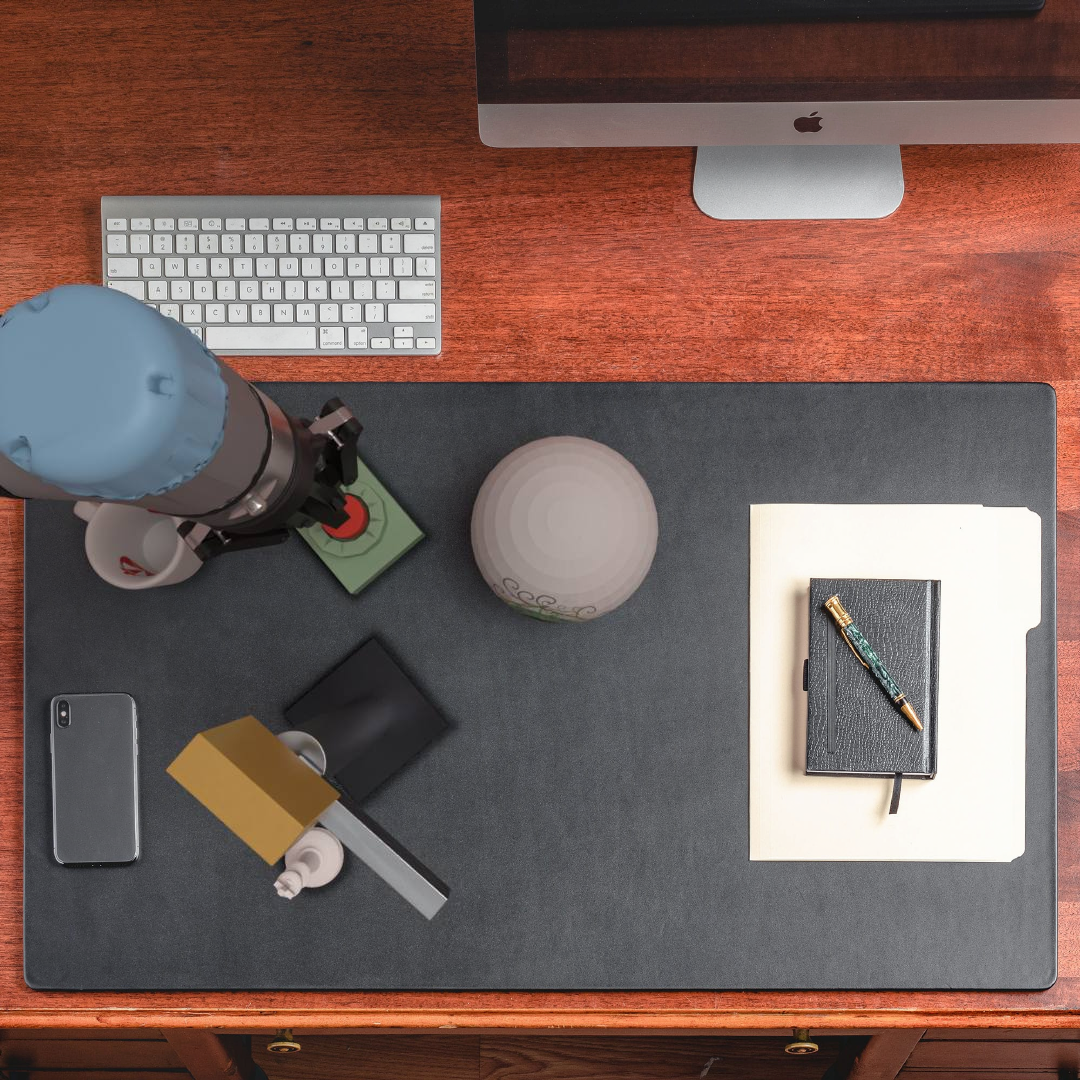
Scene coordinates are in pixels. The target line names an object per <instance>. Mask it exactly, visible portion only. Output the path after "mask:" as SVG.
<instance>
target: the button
mask: <svg viewBox="0 0 1080 1080" xmlns="http://www.w3.org/2000/svg"><path fill="white" fill-rule="evenodd" d="M345 500H346V501H347V502H348V503H347V505H346V506H345V507H344V510H345V511H346V512H347V513H348V514H349V515H350V517H351V518H350V519H349V520H348V521H346V522H345V523H344V524H343V525H342V526H340V527H339V528H338V529H337V530H336V529H334V528H332V527H329V526H327V525H325V524H322V523H321V524H322V526H323V528H324V529H325V530H326V531H327V532H328V533H329V534H331V535H333V536H335V537H338V538H341V539H350V538H354V537H356V536H358V535H359V534H360V533H361V532H362V531H363V530H364V528H365V526H366V523H367V512H366V509H365V507H364V506H363V504H362V503H361V502H360V501H358V500H357V499H355V498H354V497H352V496H350V495H346V498H345Z"/></svg>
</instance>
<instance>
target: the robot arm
mask: <svg viewBox="0 0 1080 1080" xmlns="http://www.w3.org/2000/svg"><path fill="white" fill-rule="evenodd" d="M363 430H364V426H363V424H362V423H361V422H360V421H359V420H358V419H357V418H356V416H355V415H354V414H353V412H352V411H350V410H349V408H348V407H347V406H346V405H345V403H344V402H343V401H342V400H341V399H340V397H338V396H335V397H332V398H330V399H328V400H327V401H326V402H325V404H324V405H323V406H322V408H321V412H320V414H319V415H316V416H315V417H314V418H313V421H312V420H311V419H310V418H307V417H297V418H295V417H293V416H292V415H291V414H290V413H289V412H287V411H286V410H284V409H283V408H282V407H281V406H279V405H278V404H277V403H276V402H274V400H272V399H271V398H270V396H268V395H266V393H264V392H263V391H261V390H260V389H259V388H258V387H256V386H255V385H253V384H252V383H251V382H249V381H248V380H247V379H245V378H244V377H243V376H242V375H240V374H239V373H238V372H237V371H235V370H234V369H233V367H231V366H229V365H228V364H227V362H225V361H224V360H223V359H221V358H220V357H219V356H218V355H216V354H215V353H214V352H213V351H212V350H211V349H210V348H208V347H207V345H206V344H205V342H204V341H202V339H201V338H200V337H199V336H198V335H197V334H196V333H194V332H192V330H191V329H190V328H189V327H188V326H186V325H183V324H182V323H180V322H179V321H178V320H177V319H175V317H172V316H167V315H165V314H163V313H162V312H161V311H160V310H159V309H157V308H156V307H153V306H151V305H148V304H147V303H145V302H144V301H142V300H140V299H138V298H137V297H135V296H133V295H131V294H129V293H126V292H123V291H121V290H119V289H115V288H112V287H110V286H105V285H97V284H89V283H69V284H62V285H60V284H59V285H57V286H55V287H52V288H51V289H48V290H45V291H43V292H41V293H38V294H37V295H35V296H33V297H31V298H28V299H25V300H21V301H19V302H17V303H15V305H13V306H12V307H11V308H9V309H7V310H6V311H5V312H4V313H3V314H0V498H1V499H2V498H4V499H11V500H34V499H37V500H52V501H53V500H54V501H69V502H70V501H73V502H78V501H86V502H97V503H101V504H102V503H113V504H122V505H129V506H135V507H140V508H145V509H150V510H154V511H158V512H161V513H164V514H167V515H171V516H174V517H178V518H182V519H186V520H187V521H184V522H182V523H181V524H180V525H179V527H178V528H177V530H176V531H177V532H178V534H179V535H180V536H181V537H182V538H183V540H184V541H185V542H186V543H187V544H188V546H189V547H190V548H191V549H192V551H193V552H194V553H195V554H196V555H197V557H198V558H199V559H200V560H201V561H202V562H203V563H204V562H207V561H209V560H210V561H211V560H212V559H214V558H217V557H219V556H221V555H224V554H228V553H232V552H241V551H247V550H253V549H259V548H265V547H273V546H278V545H280V544H285V542H286V541H288V540H289V539H288V538H290V536H291V532H290V531H289V530H290V529H292V528H295V527H296V528H298V529H302V528H303V527H305V528H310V527H312V526H313V525H314V524H315V523H317V522H320V523H322V524H325V525H327V526H329V527H332V528H334V529H336V530H337V529H338V528H339V527H340V526H342V525H343V524H344V523H345V522H346V521H348V520H349V519H350V518H351V517H350V515H349V514H348V513H347V512H346V511H345V510H344V507H345V506H346V505H347V503H348V502H347V501H346V500H345V498H346V494H345V493H344V491H343V490H342V489H341V488H340V486H341V485H342V484H343V485H344V486H345V487H347V486H349V485H352V484H354V483H355V482H356V480H357V478H358V463H357V456H358V448H357V442H358V440H359V438H360V436H361V434H362V432H363ZM320 458H321V459H322V462H323V463H324V464H325V466H324V467H322V468H323V469H322V468H321V469H322V470H321V469H320V467H318V466H317V464H318V462H319V460H320ZM296 528H295V529H296Z"/></svg>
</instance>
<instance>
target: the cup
mask: <svg viewBox="0 0 1080 1080" xmlns="http://www.w3.org/2000/svg"><path fill="white" fill-rule="evenodd" d="M73 513H74V514H75V515H76V516H77V517H78V518H80V519H82V520H83V521H85V522H87V525H86V529H85V536H84V546H85V552H86V556H87V560H88V561H89V564H90V565H91V567H92V569H93V570H94V571H95V573H96V574H97V575H98V576H99V577H100V578H101V579H103V580H104V581H106V582H107V583H109V584H111V585H112V586H115V587H118V588H120V589H125V590H142V589H143V590H145V589H151V588H157V587H162V586H169V585H174V584H179V583H181V582H184V581H187V580H188V579H190V578H191V577H192V576H194V575H195V574H196V573H197V572H198V571H199V569H200V568H201V567H202V566H203V565H204V562H202V561H201V560H200V559H199V558H198V557H197V555H196V554H195V553H194V552H193V551H192V549H191V548H190V547H189V546H188V544H187V543H186V542H185V541H184V540H183V538H182V537H181V536H180V535H179V534H178V532H177V531H176V530H177V528H178V527H179V525H180V524H181V523H182V522H184V521H187V520H186V519H182V518H178V517H174V516H171V515H167V514H164V513H161V512H158V511H154V510H150V509H145V508H140V507H135V506H129V505H122V504H113V503H102V502H86V501H76V503H75V505H74V507H73Z"/></svg>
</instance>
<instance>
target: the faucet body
mask: <svg viewBox="0 0 1080 1080" xmlns="http://www.w3.org/2000/svg"><path fill="white" fill-rule="evenodd" d="M283 715H284V717H285V718H286V719H287V720H288V721H289V722H290V724H291V725H292V726H293V727H290V728H288V729H286V730H284V731H282V732H280V733H278V734H276V735H275V736H276V737H277V738H278V739H279V740H280V741H281V742H282V743H283V744H285V745H286V746H287V747H288V748H289V749H290V750H291V751H292V752H294V753H295V754H296V755H297V756H300V755H302V756H303V757H304V758H305V759H306V760H307V761H308V762H309V763H311V764H312V765H313V766H314V767H315V768H316V769H317V770H318V771H319V772H321V773H322V774H323V775H324V776H325V777H326V778H327V779H328V780H330V778H331V777H333V776H334V777H335V778H336V779H337V781H338V782H339V783H340V785H341V786H342V787H343V788H344V789H345V791H346V792H347V793H348V794H349V795H350V797H351V798H352V799H353V800H354V802H355V804H357V805H359V804H361V802H363V801H365V799H367V798H368V797H369V796H370V795H371V794H372V793H374V791H375V790H376V789H378V788H379V787H380V786H381V785H383V784H384V783H385V782H386V781H387V780H389V778H390V777H392V776H393V775H394V774H395V773H396V772H397V771H399V770H400V769H401V768H402V767H403V766H405V764H407V763H408V762H409V761H411V759H413V757H415V756H416V755H417V754H418V753H419V752H421V751H422V750H423V749H424V748H425V747H426V746H428V744H430V743H431V742H432V741H434V740H435V739H436V738H437V737H438V736H439V735H440V734H442V733H443V732H444V731H445V730H446V729H447V728H449V726H450V723H449V721H448V720H447V719H446V718H445V717H444V715H443V714H442V713H441V712H440V710H439V709H438V708H437V707H436V705H434V703H432V702H431V699H429V697H428V696H427V695H426V694H425V693H424V692H423V691H422V689H421V687H419V686H418V685H417V683H416V682H415V681H414V680H413V679H412V677H411V676H410V675H409V673H407V671H406V670H405V669H404V668H403V667H402V665H400V663H399V661H398V660H396V658H395V657H394V656H393V655H392V654H391V653H390V651H389V650H388V649H387V648H386V646H385V645H384V644H383V643H382V642H381V640H380V639H379V638H378V637H377V636H374V637H372V638H370V639H369V640H368V641H367V642H366V643H365V644H363V646H361V647H360V648H359V649H358V650H356V652H353V654H351V656H349V657H348V658H347V659H346V660H345V661H343V663H341V664H340V665H338V667H336V668H335V669H334V670H333V671H332V672H331V673H329V674H328V675H327V676H326V677H325V678H323V679H322V680H321V681H320V682H318V684H316V686H314V687H313V688H311V690H309V691H308V692H307V693H305V694H304V695H303V696H302V697H301V698H300V699H299V700H298V701H296V702H295V703H294V704H293V705H292V706H291V707H290V708H289V709H287V710H286V711H284V713H283Z"/></svg>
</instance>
